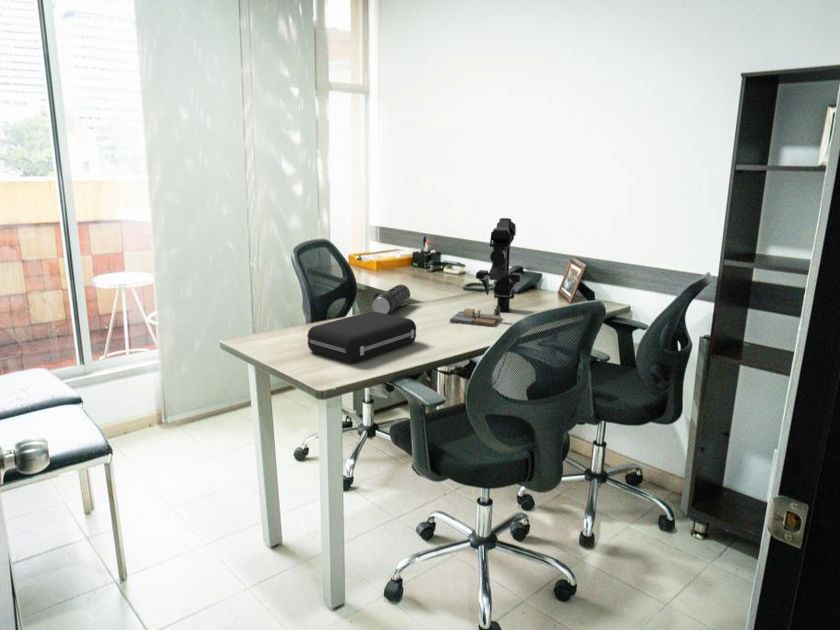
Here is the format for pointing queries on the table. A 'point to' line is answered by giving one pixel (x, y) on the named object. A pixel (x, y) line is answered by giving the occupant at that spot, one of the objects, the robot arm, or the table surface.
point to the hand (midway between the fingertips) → (498, 295)
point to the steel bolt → (493, 316)
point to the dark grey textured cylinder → (391, 299)
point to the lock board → (473, 320)
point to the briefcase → (361, 336)
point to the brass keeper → (471, 313)
